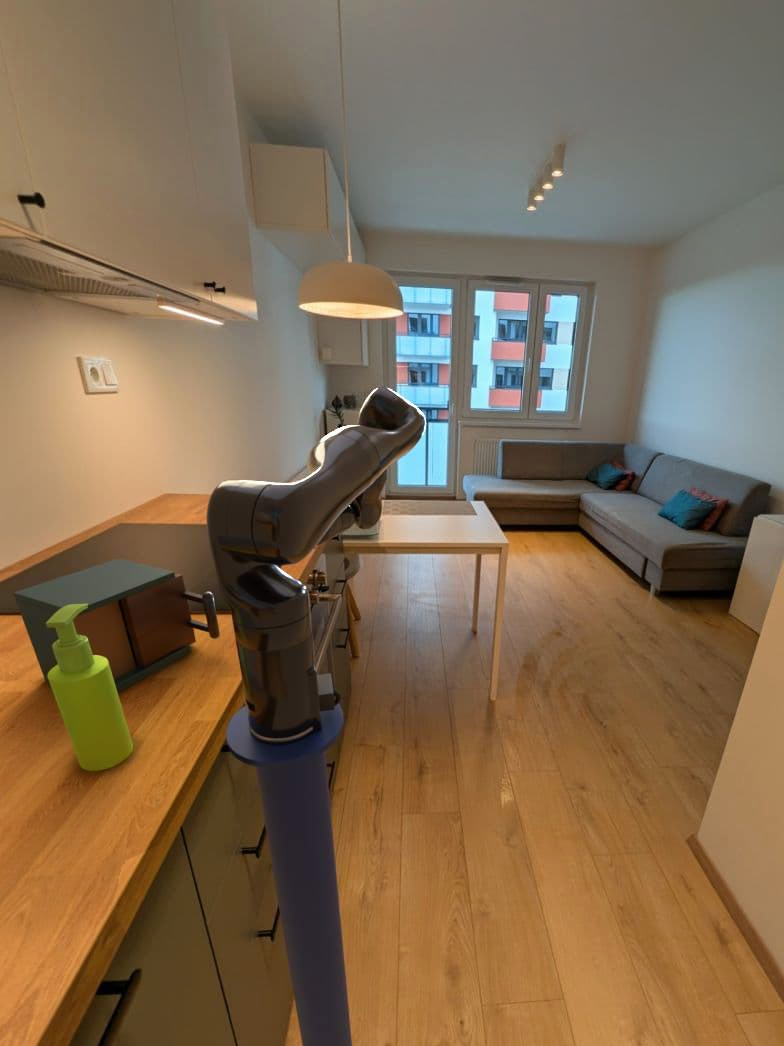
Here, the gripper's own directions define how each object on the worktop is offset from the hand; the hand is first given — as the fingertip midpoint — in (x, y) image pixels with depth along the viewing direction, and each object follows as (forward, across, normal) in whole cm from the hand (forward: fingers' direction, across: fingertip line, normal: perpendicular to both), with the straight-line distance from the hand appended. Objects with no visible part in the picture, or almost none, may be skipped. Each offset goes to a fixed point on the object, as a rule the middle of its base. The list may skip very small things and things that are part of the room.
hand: (255, 551), depth 91 cm
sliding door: (+16, +3, -14) cm, 22 cm away
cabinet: (+21, +11, -15) cm, 28 cm away
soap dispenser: (+36, -6, -15) cm, 39 cm away
